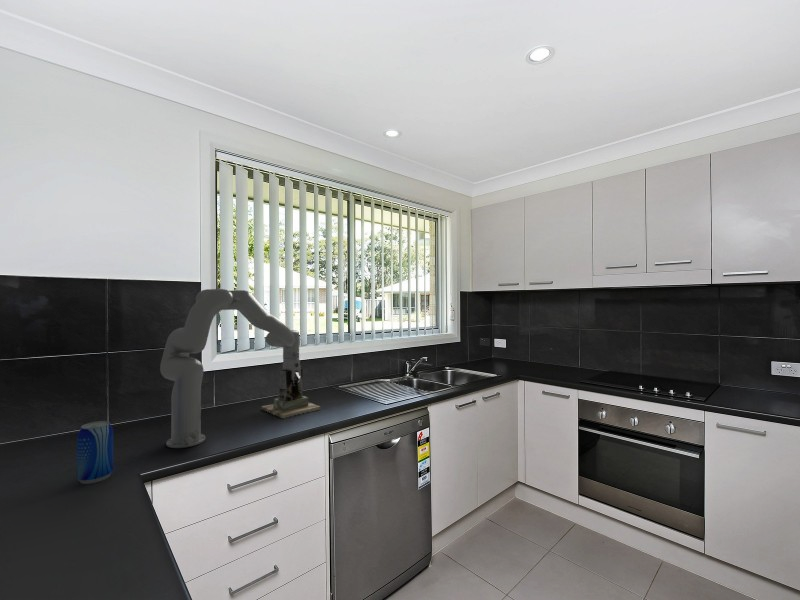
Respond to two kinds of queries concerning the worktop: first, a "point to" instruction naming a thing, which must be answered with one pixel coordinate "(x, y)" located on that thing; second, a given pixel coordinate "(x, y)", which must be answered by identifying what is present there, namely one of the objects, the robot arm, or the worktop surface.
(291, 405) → the collar board
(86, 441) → the beer can
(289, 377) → the coffee box
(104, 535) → the worktop surface
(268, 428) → the worktop surface
